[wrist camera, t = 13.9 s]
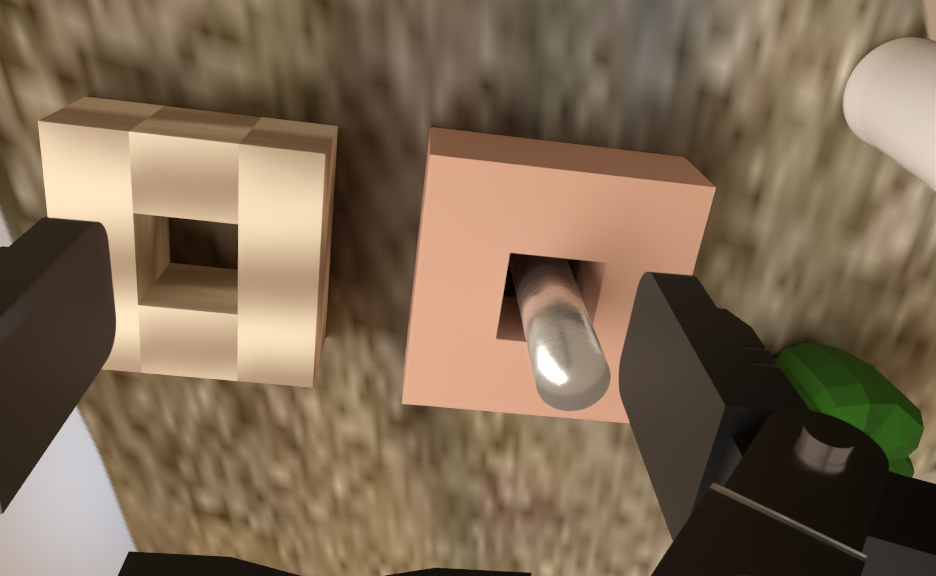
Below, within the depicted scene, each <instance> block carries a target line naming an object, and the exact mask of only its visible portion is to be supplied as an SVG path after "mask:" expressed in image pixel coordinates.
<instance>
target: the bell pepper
mask: <svg viewBox="0 0 936 576" xmlns="http://www.w3.org/2000/svg"><path fill="white" fill-rule="evenodd" d="M773 359H774V360H775V361H776V363H777V367H780V368H781V370H782V371H783V373H784V374H785V375H786V377H787V378H788V380H789V381H790V382H791V384H792V385H793V387H794V388H795V389H796V391H797V392H798V394H799V395H800V396H801V398H802V399H803V400H804V402H805V403H806V405H807V406H808V407H809V409H810V410H812V411H817V412H821V413H824V414H828V415H831V416H833V417H836V418H839V419H841V420H843V421H845V422H848V423H849V424H851V425H853V426H855V427H857V428H858V429H860V430H861V431H863V432H864V433H866V434H867V435H868V436H870V437H871V438H872V439H873V440H874V441H875V442H876V443H877V444H878V445H879V446H880V447H881V448H882V450H883V451H884V452H885V454H886V456H887V458H888V461H889V471H890V472H894V473H897V474H900V475H904V476H908V477H911V478H912V476H913V474H914V469H913V465H912V462H911V460H910V458H909V457H908V455H909V454H911V453H912V452H913V451H914V450H915V449H917V448H918V445H919V442H920V439H921V436H922V433H923V430H924V426H923V421H922V416H921V411H920V410H919V409H918V408H917V407H916V406H915V405H914V404H913V403H912V402H911V401H910V400H909V399H908V398H907V397H906V396H905V395H904V394H903V393H902V392H901V391H899V390H898V389H897V388H896V387H895V386H894V385H893V384H892V383H891V382H889V381H888V380H887V379H886V378H885V377H884V376H883V375H882V374H880V373H879V372H878V371H877V370H876V369H875V368H874V367H873V366H871V365H869V364H867V363H866V362H864V361H862V360H860V359H858V358H856V357H854V356H853V355H851V354H848V353H846V352H844V351H841V350H839V349H837V348H834V347H830V346H825V345H819V344H814V343H798V344H796V345H793V346H790V347H788V348H785V349H783V350H782V351H781V353H780V354H779V355H778V356H777V358H773Z"/></svg>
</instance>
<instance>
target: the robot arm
mask: <svg viewBox="0 0 936 576" xmlns="http://www.w3.org/2000/svg"><path fill="white" fill-rule="evenodd" d="M115 333H116V311H115V301H114V291H113V281H112V271H111V261H110V251H109V242H108V236H107V232H106V229H105V227H104V226H103V224H102V223H100V222H95V221H83V220H72V219H61V218H50V217H45V218H42V219H41V220H39V221H38V222H37V223H36V224H35V225H33V226H32V227H31V228H30V229H29V230H28V231H27V232H25V233H24V234H23V235H22V236H21V237H20V238H18V239H17V240H16V241H15V242H14V243H13V244H11V245H10V246H9V247H3V246H2V247H0V514H3V513H4V511H5V509H6V508H7V507H8V505H9V504H10V502H11V501H12V499H13V498H14V496H15V495H16V493H17V492H18V490H19V489H20V488H21V486H22V484H23V483H24V482H25V480H26V479H27V477H28V476H29V474H30V473H31V471H32V470H33V468H34V467H35V465H36V464H37V463H38V461H39V460H40V458H41V457H42V455H43V454H44V452H45V451H46V449H47V448H48V446H49V445H50V443H51V442H52V440H53V439H54V437H55V436H56V435H57V433H58V432H59V430H60V429H61V427H62V426H63V424H64V423H65V421H66V420H67V418H68V417H69V415H70V414H71V413H72V411H73V410H74V408H75V407H76V405H77V404H78V402H79V401H80V399H81V398H82V396H83V395H84V393H85V392H86V390H87V389H88V388H89V386H90V385H91V383H92V382H93V380H94V379H95V377H96V376H97V374H98V373H99V371H100V370H101V368H102V367H103V365H104V364H105V362H106V361H107V359H108V358H109V356H110V353H111V351H112V348H113V344H114V340H115ZM619 392H620V397H621V400H622V403H623V406H624V408H625V411H626V414H627V417H628V419H629V422H630V425H631V428H632V430H633V433H634V436H635V438H636V441H637V444H638V447H639V449H640V452H641V455H642V458H643V460H644V463H645V466H646V469H647V471H648V474H649V477H650V480H651V482H652V485H653V488H654V491H655V493H656V496H657V499H658V502H659V504H660V507H661V510H662V512H663V515H664V518H665V521H666V523H667V526H668V529H669V532H670V534H671V537H672V540H673V543H672V544H671V546H670V547H669V549H668V550H667V552H666V553H665V555H664V556H663V558H662V559H661V561H660V562H659V564H658V565H657V567H656V568H655V570H654V572H653V573H652V575H651V576H936V484H933V483H930V482H926V481H922V480H919V479H915V478H911V477H908V476H904V475H900V474H897V473H894V472H890V471H889V461H888V458H887V456H886V454H885V452H884V451H883V450H882V448H881V447H880V446H879V445H878V444H877V443H876V442H875V441H874V440H873V439H872V438H871V437H870V436H868V435H867V434H866V433H864V432H863V431H861V430H860V429H858V428H857V427H855V426H853V425H851V424H849V423H848V422H845V421H843V420H841V419H839V418H836V417H833V416H831V415H828V414H824V413H821V412H817V411H812V410H810V409H809V407H808V406H807V405H806V403H805V402H804V400H803V399H802V398H801V396H800V395H799V394H798V392H797V391H796V389H795V388H794V387H793V385H792V384H791V382H790V381H789V380H788V378H787V377H786V375H785V374H784V373H783V371H782V370H781V368H780V367H777V363H776V361H775V360H774V359H773V357H772V356H771V354H770V353H769V352H768V351H765V346H764V345H763V343H762V342H761V340H760V339H759V338H758V336H757V335H756V333H755V332H754V331H753V329H752V328H751V327H750V326H749V325H747V324H746V323H744V322H743V321H742V320H740V319H739V318H738V317H736V316H735V315H733V314H732V313H731V312H729V311H728V310H726V309H719V308H717V307H716V306H715V304H714V303H713V301H712V300H711V298H710V297H709V295H708V294H707V292H706V291H705V289H704V288H703V286H702V285H701V283H700V282H699V280H698V279H697V278H696V277H695V276H693V275H681V274H670V273H659V272H645V273H644V274H643V276H642V277H641V279H640V281H639V284H638V288H637V292H636V296H635V300H634V304H633V308H632V312H631V317H630V321H629V325H628V329H627V333H626V337H625V341H624V346H623V350H622V354H621V358H620V364H619ZM118 576H300V575H296V574H292V573H288V572H285V571H281V570H277V569H274V568H270V567H266V566H263V565H259V564H255V563H251V562H248V561H244V560H240V559H237V558H233V557H221V556H203V555H184V554H165V553H146V552H128V555H127V557H126V559H125V561H124V564H123V566H122V568H121V570H120V572H119V575H118ZM386 576H531V573H524V572H505V571H486V570H467V569H448V568H431V569H425V570H418V571H412V572H405V573H399V574H393V575H386Z"/></svg>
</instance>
